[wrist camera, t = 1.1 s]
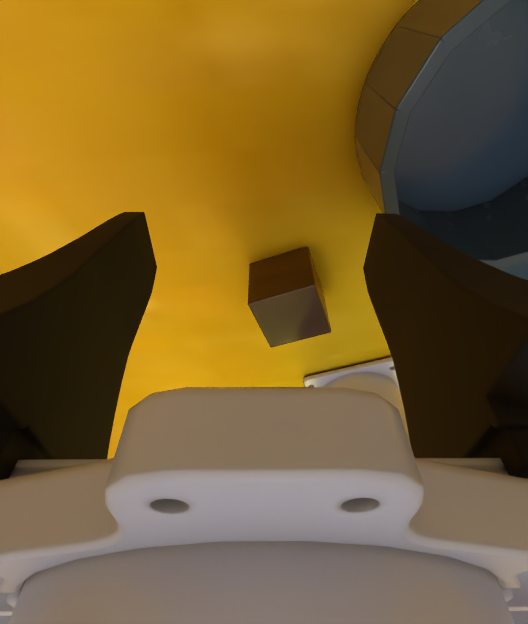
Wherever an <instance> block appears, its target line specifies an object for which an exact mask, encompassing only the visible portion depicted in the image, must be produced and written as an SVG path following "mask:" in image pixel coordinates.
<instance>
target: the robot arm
mask: <svg viewBox="0 0 528 624" xmlns="http://www.w3.org/2000/svg"><path fill="white" fill-rule="evenodd" d="M156 269H157V266H156V261H155V257H154V253H153V248H152V244H151V239H150V235H149V231H148V226H147V222H146V218H145V213H144V212H123V213H121V214H119V215H117V216H115V217H113V218H111V219H109V220H108V221H106V222H104V223H103V224H101V225H99V226H98V227H96V228H94V229H93V230H91V231H90V232H88V233H86V234H85V235H83V236H81V237H80V238H78V239H76V240H74V241H72V242H71V243H69V244H67V245H65V246H63V247H61V248H60V249H58V250H56V251H54V252H52V253H50V254H48V255H46V256H44V257H42V258H40V259H38V260H36V261H34V262H31V263H29V264H27V265H24V266H22V267H20V268H17V269H15V270H12V271H10V272H7V273H4V274H1V275H0V624H528V280H525V279H522V278H520V277H517V276H514V275H512V274H509V273H507V272H504V271H502V270H500V269H497V268H495V267H493V266H491V265H488V264H486V263H484V262H482V261H480V260H477V259H475V258H473V257H471V256H470V255H468V254H466V253H464V252H462V251H460V250H458V249H456V248H455V247H453V246H451V245H449V244H448V243H446V242H444V241H442V240H441V239H439V238H437V237H436V236H434V235H433V234H431V233H429V232H428V231H426V230H424V229H423V228H421V227H420V226H418V225H416V224H415V223H413V222H411V221H410V220H408V219H406V218H404V217H402V216H400V215H398V214H380V213H376V217H375V221H374V225H373V229H372V233H371V238H370V242H369V246H368V250H367V254H366V259H365V263H364V267H363V269H364V274H365V280H366V285H367V289H368V293H369V296H370V299H371V302H372V304H373V307H374V310H375V312H376V315H377V318H378V320H379V323H380V325H381V328H382V331H383V333H384V336H385V339H386V341H387V344H388V347H389V350H390V353H391V356H392V357H391V358H386V359H382V360H377V361H373V362H368V363H364V364H360V365H355V366H351V367H347V368H342V369H338V370H334V371H329V372H325V373H320V374H316V375H312V376H308V377H305V378H304V385H305V387H186V388H180V389H174V390H168V391H162V392H156V393H153V394H150V395H148V396H147V397H146V398H144V399H143V400H142V401H140V402H139V403H138V404H136V405H135V406H133V407H132V408H131V409H129V411H128V415H127V418H126V421H125V424H124V427H123V431H122V434H121V437H120V440H119V444H118V447H117V450H116V453H115V456H114V458H112V459H107V455H108V449H109V443H110V437H111V432H112V427H113V421H114V416H115V411H116V406H117V401H118V397H119V392H120V388H121V383H122V379H123V375H124V371H125V367H126V363H127V359H128V355H129V352H130V349H131V346H132V343H133V341H134V338H135V335H136V333H137V330H138V328H139V325H140V322H141V320H142V317H143V315H144V312H145V309H146V307H147V304H148V301H149V299H150V296H151V293H152V289H153V285H154V280H155V274H156Z"/></svg>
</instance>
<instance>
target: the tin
mask: <svg viewBox="0 0 528 624" xmlns="http://www.w3.org/2000/svg"><path fill="white" fill-rule="evenodd" d="M355 142H356V150H357V156H358V160H359V164H360V167H361V173H362V176H363V179H364V181H365V182H366V184H367V186H368V188H369V190H370V192H371V193H372V195H373V197H374V199H375V201H376V203H377V204H378V206H379V208H380V210H381V212H382V214H398V215H400V216H402V217H404V218H406V219H408V220H410V221H411V222H413V223H415V224H416V225H418V226H420V227H421V228H423V229H424V230H426V231H428V232H429V233H431V234H433V235H434V236H436V237H437V238H439V239H441V240H442V241H444V242H446V243H448V244H449V245H451V246H453V247H455V248H456V249H458V250H460V251H462V252H464V253H466V254H468V255H470V256H471V257H473V258H475V259H477V260H480V261H482V262H484V263H486V264H488V265H491V266H493V267H495V268H497V269H499V268H503V267H507V266H511V265H514V264H518V263H522V262H526V261H528V0H419V1H418V2H417V3H416V4H415V5H414V6H413V7H412V8H411V9H410V10H409V11H408V12H407V13H406V15H405V16H404V17H403V18H402V19H401V20H400V22H399V23H398V24H397V26H396V27H395V28H394V29H393V31H392V32H391V33H390V35H389V36H388V38H387V39H386V41H385V43H384V44H383V46H382V48H381V49H380V51H379V52H378V54H377V56H376V58H375V60H374V62H373V64H372V66H371V68H370V70H369V73H368V75H367V78H366V81H365V84H364V86H363V89H362V92H361V96H360V100H359V104H358V109H357V116H356V124H355Z"/></svg>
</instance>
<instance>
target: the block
mask: <svg viewBox="0 0 528 624" xmlns="http://www.w3.org/2000/svg"><path fill="white" fill-rule="evenodd" d="M248 305H249V307H250V309H251V311H252V313H253V315H254V317H255V318H256V320H257V322H258V324H259V326H260V328H261V330H262V332H263V334H264V336H265V337H266V339H267V341H268V343H269V345H270V347H275V346H279V345H283V344H287V343H291V342H295V341H299V340H303V339H306V338H310V337H314V336H318V335H322V334H326V333H330V332H331V327H330V322H329V318H328V313H327V308H326V303H325V299H324V294H323V290H322V287H321V284H320V281H319V278H318V275H317V272H316V269H315V266H314V263H313V260H312V257H311V254H310V251H309V248H308V247H304V248H301V249H297V250H294V251H291V252H288V253H285V254H282V255H278V256H275V257H272V258H269V259H266V260H262V261H259V262H256V263H253V264H250V265H249V289H248Z"/></svg>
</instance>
